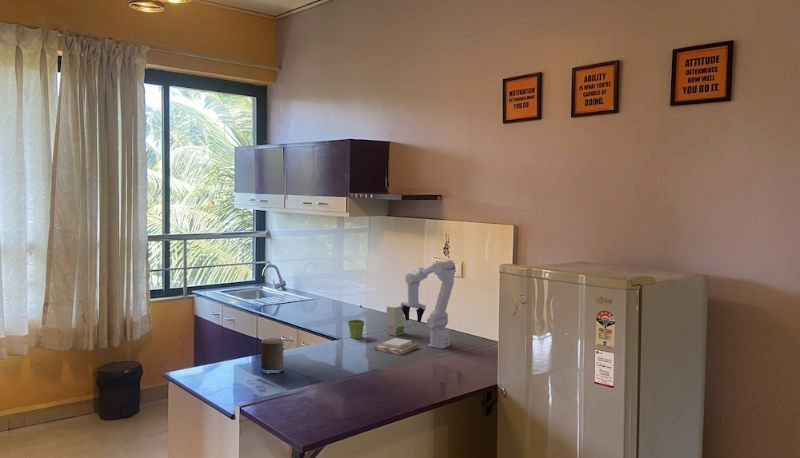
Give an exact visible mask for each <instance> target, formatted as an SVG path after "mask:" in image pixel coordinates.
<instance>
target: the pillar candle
mask: <svg viewBox="0 0 800 458" xmlns="http://www.w3.org/2000/svg"><path fill="white" fill-rule="evenodd" d="M260 353H261V355H260V363H261V364H260V365H261V366H260V367H261V368H262V369H265V370H282V369H284V340H283V339H282V338H277V337H276V338H275V337H271V338H264V339H261V341H260ZM261 368H260V369H261Z"/></svg>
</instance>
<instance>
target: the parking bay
mask: <svg viewBox="0 0 800 458" xmlns="http://www.w3.org/2000/svg"><path fill="white" fill-rule="evenodd" d="M383 343H384V342H381V343H378V344H376V345H374V350H375V351H379V352H384V353H388V354H393V355H394V354H395V355H404V354H407V353H409V352H411V351H413V350H416V349H419V345H418V343H412V345H410V346H408V347H405V348H403V349H394V348H389V347H384V346H383Z"/></svg>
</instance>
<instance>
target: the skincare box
mask: <svg viewBox="0 0 800 458" xmlns="http://www.w3.org/2000/svg"><path fill="white" fill-rule="evenodd" d="M402 307H403V306H401V304H393V305H387V306H386V335H389V336H393V337H394V336H395V337H396V336H399V335H402V334H403V335H404V334H405V315H404V313H403V311H402V309H401V308H402Z"/></svg>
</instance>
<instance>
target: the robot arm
mask: <svg viewBox="0 0 800 458" xmlns="http://www.w3.org/2000/svg"><path fill="white" fill-rule="evenodd" d="M456 267H457V266H456V265H455V262H454V261H453V260H450V259H449V260H445V261H436V262H433V263H432V264H430V265H429V266H427V267H425V268H424V267H418V268H417V270H413V271H412V272H410V273H407V274H405V278H404V279H405V280H404V281H405V282H406V284H407V302H405V301H403V302H400V305H401V306H403V307H402V308H401V309H402V311H403V313H404V320H405V321H409V320H410V311H411V310H410V309H411V308H414V309H415V310H416V316H417V323H421V322H422V318H423V315H424V313H425V311H426V309H427V307H426V304H421V303H419V298H420V297H419V287H420V283H421V282H422V281H424V280H425V279H427V278H428V276H429V275H430V274H432V273H434V274H435V275H436V276H437V278H438V280H440V281H441V286H440V289H439V293H438V296H437V300H436V302H435V303H436V304H435V307H434V309H433V310H432V311H431V312H430V313H429V315H428V317H427V318H426V325H427V327H428V329H429V331H430V332H429V335H430V336H429V337H430V338H429V340H430V341H429V342H430V343H428V344H427V345H426V346H427V347H432V348H437V349H442V350H443V349H445V348H448V347H450V346H451V344H450V343H451V342H450V340H451V339H450V338H451V337H450V336H451V335H450V331H449V330H448V329H446V327H447V325H448V324H449V319H448V318H449V314H448V312H447V311H446V310H447V307H448V304H449V301H450V296H451V294H452V290H453V288H454V287H453V286H454V283H455V273H456V270H457V268H456Z"/></svg>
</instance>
